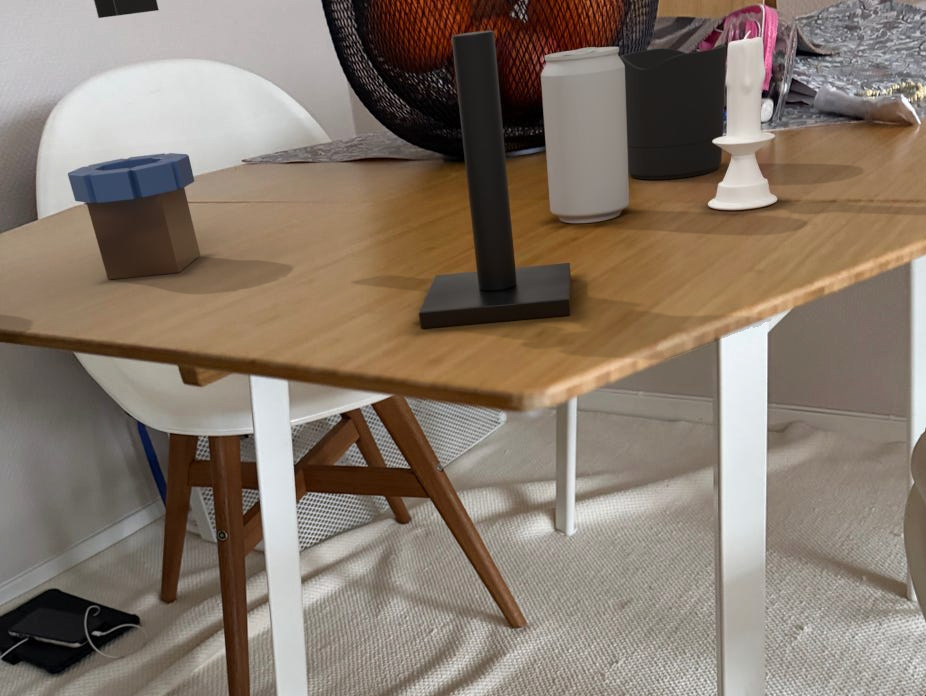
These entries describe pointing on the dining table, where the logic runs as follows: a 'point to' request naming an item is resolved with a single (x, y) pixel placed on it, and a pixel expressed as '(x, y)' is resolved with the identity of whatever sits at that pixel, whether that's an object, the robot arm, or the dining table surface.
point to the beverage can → (586, 134)
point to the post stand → (490, 213)
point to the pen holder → (674, 111)
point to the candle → (744, 129)
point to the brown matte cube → (145, 235)
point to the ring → (131, 178)
